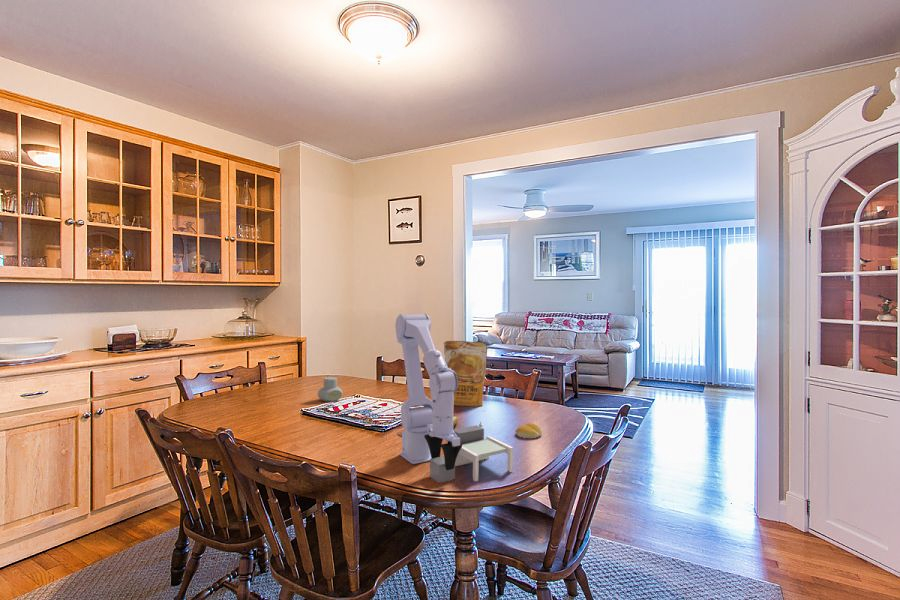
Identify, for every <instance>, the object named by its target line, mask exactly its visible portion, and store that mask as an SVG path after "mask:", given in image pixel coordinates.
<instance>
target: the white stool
mask: <svg viewBox="0 0 900 600" xmlns="http://www.w3.org/2000/svg"><path fill="white" fill-rule="evenodd" d="M486 439H488V440H490V441H492V442H494V443H496V444H498V445H500V446H502V447H504V448H506V452H505V453H506V454H507V466H506V467H507V468H506V469H507V472H508V471H509V472H508V473H513V472H512V471H514V447H513V446H511V445H509V444H507V443H504V441H500V440H498V439H496V438H495V437H492V436H490V435H487V436H486ZM505 453H504V454H505ZM489 458H490V456H487V457H483V458H479V455H477V454H476V453H474V452H472V451H470V450H468V449H467V448H465V447H463V446H462V448H461V449H460V451H459V453H458V455H457V458H456V461H455V467H458V466H459V467H460V466H462V465H467V464H472V481H474V482H479V465H480V464H479V463H480V462H481V461H484V459H485V460H488V459H489ZM479 461H480V462H479Z"/></svg>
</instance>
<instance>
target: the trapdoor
mask: <svg viewBox="0 0 900 600" xmlns="http://www.w3.org/2000/svg"><path fill="white" fill-rule="evenodd" d="M453 431H454V432H455V433H456V435H457V436H458V437H459V438H460V443H461V444H462V446H463V447H465V448H467V449H468V450H470V451H472V452H474V453H476V454H477V455H479V458H483V457H487V456H489V457H490V456H496V455H500V454H503V453H504V454H505V452H506V448H504V447H502V446H500V445H498V444H496V443H494V442H492V441H490V440H488V439H487V438H485V428H483V427H480V426H479V425H472V426H466V427H465V426H464V427H460V428H454V429H453Z"/></svg>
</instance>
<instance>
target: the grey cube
mask: <svg viewBox="0 0 900 600" xmlns="http://www.w3.org/2000/svg"><path fill="white" fill-rule="evenodd" d="M429 477H430V478H431V479H432V480H434V481H435V482H437V483H438V484H442V483H446V482H449V481H453V479H454V480H456V466H455V465H454V469H451V470H446V468H445V458H444V455H443V456H440V457H437V458H432V459H430V461H429Z"/></svg>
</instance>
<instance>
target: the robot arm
mask: <svg viewBox="0 0 900 600" xmlns="http://www.w3.org/2000/svg"><path fill="white" fill-rule="evenodd" d="M394 324H395V325H394V326H395V327H394V328H395V334H396V340H397V343H399V344H401V346H402V347H401V348H402V355H403V361H404V368H405V369H404V370H405V377H406V385H407V393H408V398H406V400H405V401H404V402H403V403H402V404H401V407H400V411H401V413H400V423H401V425H402V427H403V431H402V432H403V433H402V436H401V452H399V453H398V454H399V455H400V456H401V457H402V458H403V459H405V460H406V461H408V462H409V463H410V464H412V465H416V464H421V463H425V462H430V459H432V458H437V457H441V450H442V453H443V456H444V458H445V468H446V470H451V469H454V465H455V461H456V458H457V455H458V453H459V451H460V449H461V448H462V444H461V443H460V438H459V437H458V436H457V435H456V433H455V432H454V431H453V416H454V392H453V391H456V390H457V387H458V379H457V375H456V373H455V371H453V370H451V368H448V367H447V364H446V362H445V357H444V356H443V354H442V352H441V351H440V350H438V349H436V347H435V344H434V341H433V338H432V335H431V329H432V328H431V327H432V320H431V317H430V316H429V315H428V313H423V314H422V313H421V314H419V313H418V314H398V316H397V317H396V319H395V323H394ZM419 349H421V352H422V353H423V357H422V362H423V364H424V367H425V369H426V372H427V373H428V376H429V381H428V386H429V387H428V388H429V391H430V397H431V399H430V398H429V397H427V396H426V394H425V388H424V387H425V386H424V379H423V372H422V366H421V356H420V352H419V351H420V350H419ZM443 440H444V441H446V442H447V443H443Z"/></svg>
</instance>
